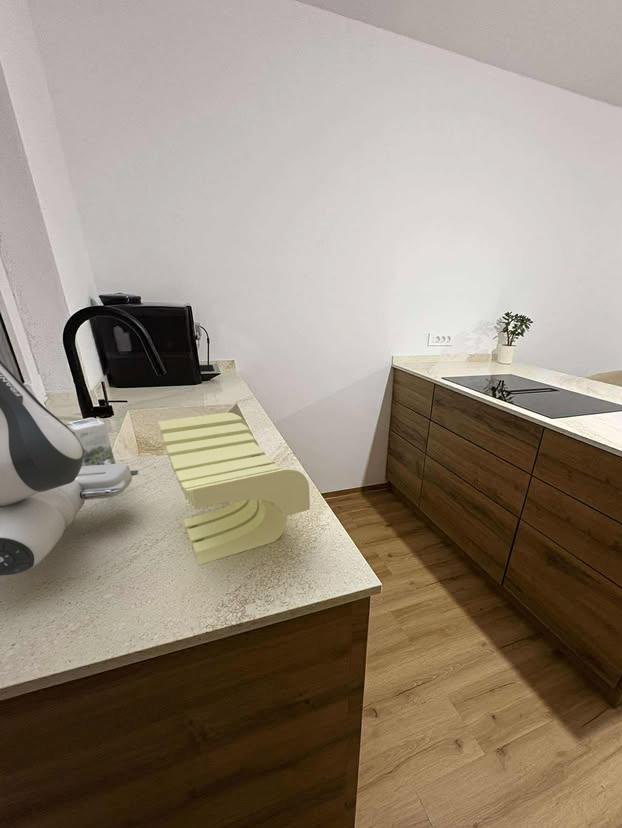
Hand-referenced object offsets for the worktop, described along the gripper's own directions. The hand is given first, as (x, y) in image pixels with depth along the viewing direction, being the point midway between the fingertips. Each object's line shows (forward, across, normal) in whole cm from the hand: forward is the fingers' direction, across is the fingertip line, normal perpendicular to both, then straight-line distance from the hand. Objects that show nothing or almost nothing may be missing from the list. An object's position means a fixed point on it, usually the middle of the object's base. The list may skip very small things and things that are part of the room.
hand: (79, 464), depth 75 cm
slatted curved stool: (-17, -28, +9) cm, 34 cm away
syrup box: (+7, 0, +8) cm, 11 cm away
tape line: (+13, 0, +8) cm, 15 cm away
